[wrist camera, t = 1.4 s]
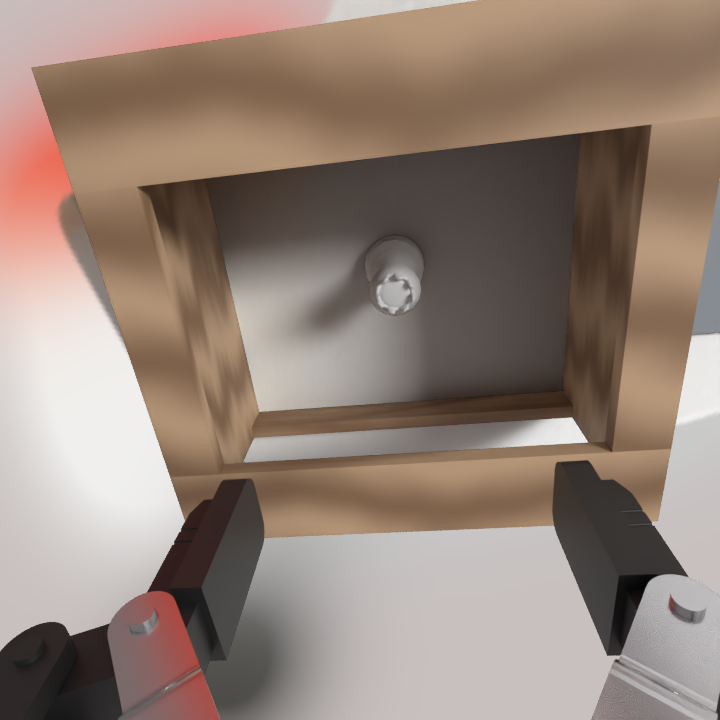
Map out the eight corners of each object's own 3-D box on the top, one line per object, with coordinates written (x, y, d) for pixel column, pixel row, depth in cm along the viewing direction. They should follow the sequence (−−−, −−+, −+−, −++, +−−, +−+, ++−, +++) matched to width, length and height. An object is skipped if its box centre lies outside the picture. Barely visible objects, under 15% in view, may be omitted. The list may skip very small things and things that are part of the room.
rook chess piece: (377, 224, 36) (374, 247, 28) (433, 246, 36) (444, 275, 29) (356, 279, 37) (347, 314, 30) (409, 300, 38) (414, 339, 31)
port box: (171, 94, 33) (31, 67, 20) (603, 33, 30) (759, -42, 17) (250, 422, 43) (191, 540, 31) (574, 400, 41) (657, 521, 28)
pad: (643, 188, 33) (647, 189, 33) (816, 170, 32) (824, 170, 32) (625, 336, 38) (629, 339, 37) (777, 324, 37) (783, 327, 36)
